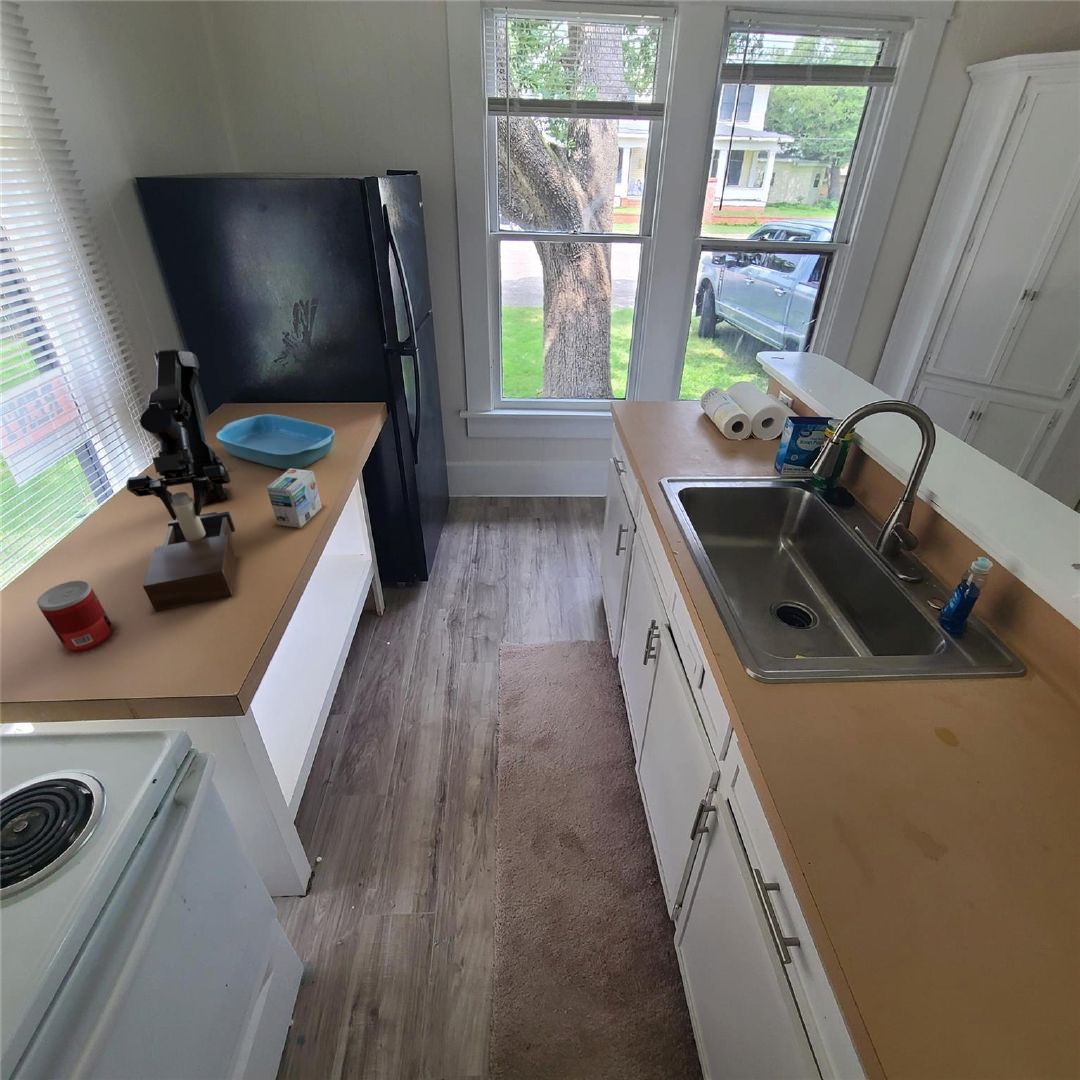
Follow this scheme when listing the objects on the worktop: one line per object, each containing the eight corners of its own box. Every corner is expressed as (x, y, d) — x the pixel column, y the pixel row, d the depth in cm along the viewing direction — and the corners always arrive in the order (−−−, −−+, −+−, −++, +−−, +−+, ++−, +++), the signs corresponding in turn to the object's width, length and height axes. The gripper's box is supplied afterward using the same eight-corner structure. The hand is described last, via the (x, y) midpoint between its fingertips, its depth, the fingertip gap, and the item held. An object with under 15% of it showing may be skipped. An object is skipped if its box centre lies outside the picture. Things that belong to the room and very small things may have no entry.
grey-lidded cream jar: (184, 533, 130) (167, 493, 124) (205, 528, 131) (189, 489, 126) (185, 543, 127) (168, 502, 121) (206, 537, 128) (191, 497, 123)
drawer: (178, 530, 139) (170, 512, 137) (236, 520, 143) (230, 503, 140) (167, 571, 126) (158, 552, 123) (231, 559, 130) (225, 540, 127)
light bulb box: (301, 528, 142) (290, 490, 136) (276, 525, 143) (264, 487, 137) (323, 506, 150) (314, 470, 144) (299, 504, 151) (289, 467, 145)
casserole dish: (353, 449, 179) (349, 428, 175) (301, 480, 162) (295, 458, 158) (264, 429, 191) (258, 409, 187) (207, 456, 175) (200, 434, 170)
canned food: (124, 629, 112) (99, 584, 106) (85, 657, 106) (57, 612, 99) (95, 620, 114) (69, 576, 108) (55, 647, 108) (25, 602, 101)
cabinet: (166, 571, 127) (154, 547, 123) (236, 558, 131) (227, 534, 127) (155, 612, 116) (142, 586, 112) (232, 596, 120) (222, 570, 116)
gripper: (109, 443, 117) (120, 516, 114) (211, 430, 122) (223, 500, 120) (132, 461, 127) (143, 529, 125) (225, 449, 133) (236, 513, 130)
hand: (186, 517), depth 125 cm, fingers closed on grey-lidded cream jar, 4 cm apart
